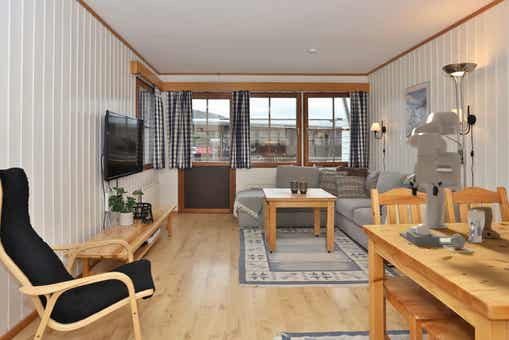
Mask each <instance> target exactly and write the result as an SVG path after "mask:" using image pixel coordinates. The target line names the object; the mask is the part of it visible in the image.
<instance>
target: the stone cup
mask: <svg viewBox="0 0 509 340" xmlns="http://www.w3.org/2000/svg"><path fill="white" fill-rule="evenodd" d="M470 210H483V211H485V223H484V228H483V232H482V238H484V239H498V238H501V236H502V235H501V234H500V233H498V232H497V231H496V230H494V229H492V222H493V216H494V215H493V208H492V207H491V206H486V205H485V206H473V207H471V208H470Z"/></svg>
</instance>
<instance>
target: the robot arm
mask: <svg viewBox="0 0 509 340" xmlns="http://www.w3.org/2000/svg"><path fill="white" fill-rule="evenodd" d="M460 130H461V122H460V118H459V115H458V114H457V113H456V112H455V111H435V112H432V113H430V114H429V115H428V117H427V119H426V121H425V123H424V124H421V125H419V126H417V127H414V129H412V132H411V134H410V137H409V144H410V146H411V148H413V149H417V152H416V153H417V157H416V158H417V159H416V160H417V161H416V162H414V166H413V171H412V172H413V173H412V174H411V175H410V176H408V177H407V178H405V179H406V181H407V183H408V185H409V186H410V187H411V195H412V196H413V197H417V196H418V188H417V187H418V185H419V184H421V185H422V184H425V188H426V189H425V193H426V194H425V218H424V219H425V221H424V222H423V223H422V224H426V225H427V226H428V227H429V229H433V230H435V229H436V230H442V229H447V228H448V225H447V224H445V211H446V210H445V208H446V205H445V204H446V197H445V193H444V192H443V191H442V189H450V190H451V189H453V190H454V189H459V187H460V186H461V175H462V174H461V172H462V156H461V154H460V153H459V152H456V151H447V150H448V149H447V148H448V144H447V141H446V140H445V139H444V138H443V137H442V136H455V135H458V134H459V133H460ZM438 169H439V170H438ZM450 170H451V171H450Z"/></svg>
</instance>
